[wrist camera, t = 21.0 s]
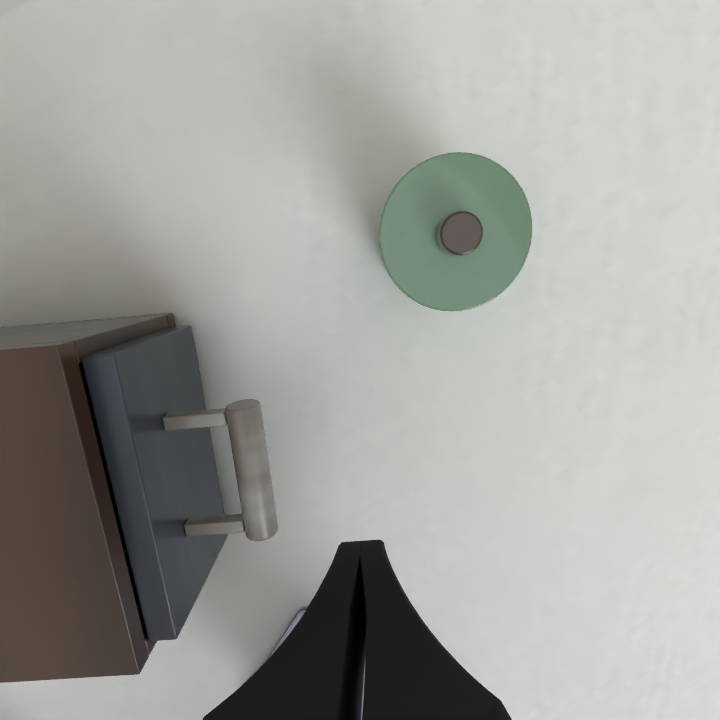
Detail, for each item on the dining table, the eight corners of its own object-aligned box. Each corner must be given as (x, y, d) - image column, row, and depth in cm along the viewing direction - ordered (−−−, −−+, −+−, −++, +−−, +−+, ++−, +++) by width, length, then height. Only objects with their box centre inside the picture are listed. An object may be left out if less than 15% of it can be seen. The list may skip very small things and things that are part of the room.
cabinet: (173, 312, 22) (57, 345, 14) (214, 536, 25) (139, 675, 17) (-83, 334, 22) (-348, 378, 14) (-12, 551, 25) (-197, 695, 17)
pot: (503, 221, 21) (578, 201, 14) (444, 315, 22) (484, 343, 15) (410, 163, 20) (437, 109, 13) (354, 262, 21) (350, 263, 14)
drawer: (271, 318, 21) (229, 344, 15) (299, 530, 24) (274, 634, 17) (-53, 345, 22) (-236, 383, 15) (11, 550, 24) (-121, 659, 18)
